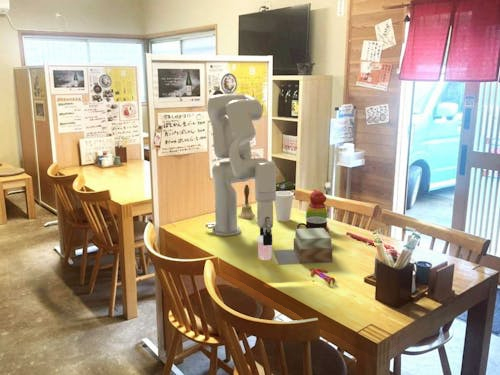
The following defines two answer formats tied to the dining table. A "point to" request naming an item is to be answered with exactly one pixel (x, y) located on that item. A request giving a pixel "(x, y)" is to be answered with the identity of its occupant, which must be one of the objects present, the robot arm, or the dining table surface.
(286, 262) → the base board
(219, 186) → the robot arm
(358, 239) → the long red tool
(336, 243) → the dining table surface
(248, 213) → the hand bell
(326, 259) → the marbled stone cube
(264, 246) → the beverage cup
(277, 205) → the foam cup
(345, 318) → the dining table surface
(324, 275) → the toy figure
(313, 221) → the coffee mug
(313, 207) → the stacking bear
